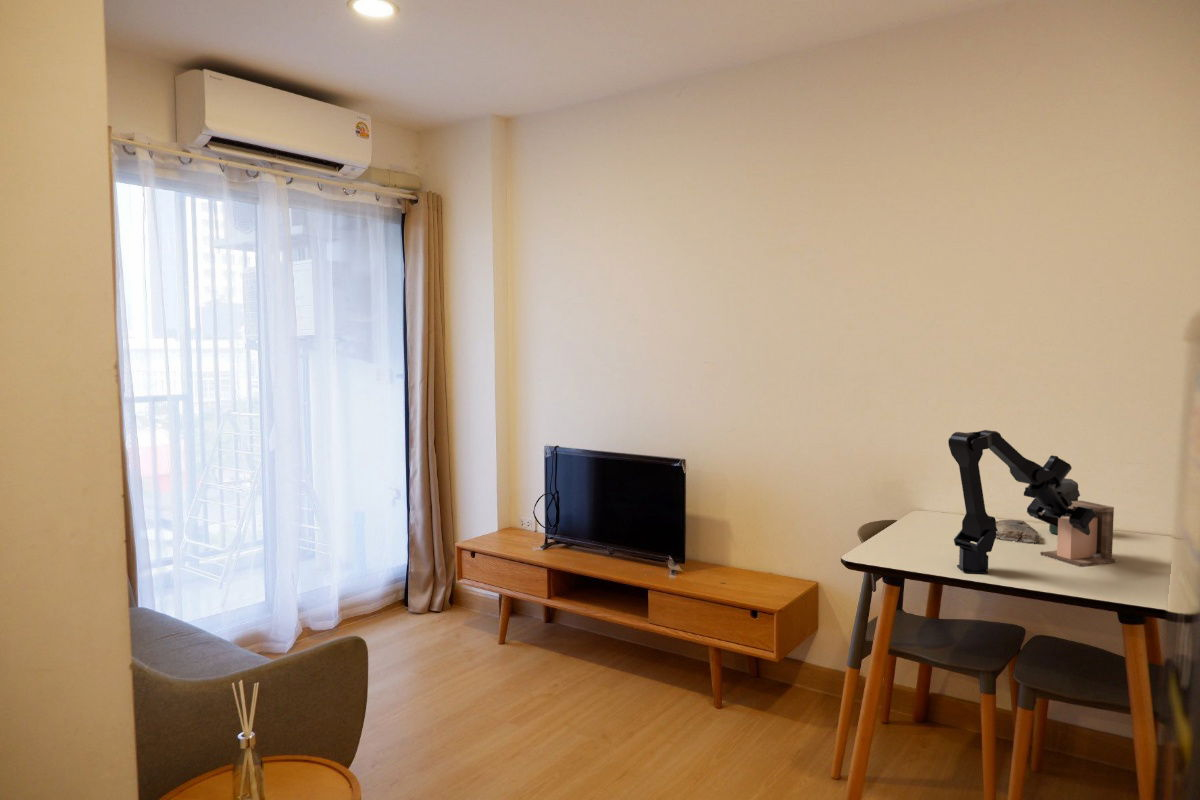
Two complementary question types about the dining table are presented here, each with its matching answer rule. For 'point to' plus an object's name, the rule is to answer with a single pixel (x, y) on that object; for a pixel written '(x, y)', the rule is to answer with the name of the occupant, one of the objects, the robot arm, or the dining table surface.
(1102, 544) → the walnut shelf
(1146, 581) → the dining table surface
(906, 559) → the dining table surface
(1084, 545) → the terracotta slab
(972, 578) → the dining table surface
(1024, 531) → the jagged gray stone
